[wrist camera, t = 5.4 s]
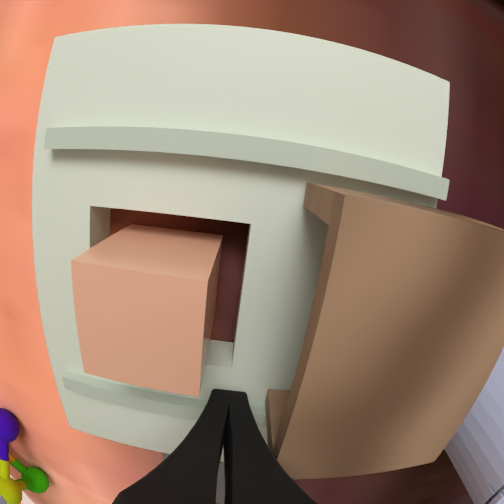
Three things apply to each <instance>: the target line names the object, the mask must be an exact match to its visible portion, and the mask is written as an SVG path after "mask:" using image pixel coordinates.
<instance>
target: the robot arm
mask: <svg viewBox="0 0 504 504" xmlns="http://www.w3.org/2000/svg"><path fill="white" fill-rule="evenodd" d="M223 446H224V477H225V499H224V504H317V503H316V502H315V501H313V500H312V499H311V498H310V497H309V496H308V495H307V494H306V493H305V492H304V491H302V490H301V489H300V488H299V486H298V485H297V484H296V483H295V482H294V481H293V480H292V479H291V478H290V477H289V475H288V474H287V473H286V472H285V471H284V469H283V468H282V467H281V465H280V464H279V463H278V461H277V460H276V458H275V457H274V455H273V454H272V452H271V451H270V449H269V447H268V446H267V444H266V442H265V440H264V438H263V436H262V434H261V432H260V430H259V428H258V426H257V424H256V421H255V419H254V416H253V414H252V411H251V408H250V405H249V401H248V397H247V394H246V393H245V392H241V391H232V390H223V389H213V390H212V391H211V395H210V397H209V400H208V402H207V404H206V406H205V408H204V410H203V412H202V413H201V415H200V417H199V418H198V420H197V422H196V423H195V425H194V426H193V427H192V429H191V430H190V432H189V433H188V434H187V436H186V437H185V438H184V439H183V441H182V442H181V443H180V444H179V445H178V447H177V448H176V449H175V450H174V451H173V452H172V453H171V454H170V455H169V456H168V457H167V458H166V459H165V460H164V461H163V462H162V463H161V464H159V465H158V466H157V467H156V468H155V469H153V470H152V471H151V472H150V473H148V474H147V475H146V476H144V477H143V478H142V479H140V480H139V481H137V482H136V483H134V484H132V485H131V486H129V487H128V488H126V489H124V490H123V491H121V492H120V493H119V494H118V496H117V497H116V498H115V500H114V502H113V503H112V504H216V490H217V476H218V470H219V465H220V459H221V454H222V449H223ZM444 449H445V451H446V453H447V455H448V456H449V458H450V460H451V462H452V464H453V465H454V467H455V469H456V471H457V473H458V474H459V476H460V478H461V480H462V482H463V484H464V486H465V487H466V489H467V491H468V493H469V495H470V497H471V499H472V501H473V503H474V504H504V348H503V350H502V352H501V354H500V356H499V358H498V360H497V362H496V364H495V366H494V368H493V370H492V372H491V374H490V376H489V378H488V380H487V382H486V384H485V385H484V387H483V389H482V391H481V393H480V394H479V396H478V398H477V400H476V401H475V403H474V405H473V406H472V408H471V410H470V411H469V413H468V414H467V416H466V417H465V419H464V421H463V422H462V424H461V425H460V427H459V428H458V430H457V431H456V433H455V434H454V436H453V437H452V438H451V440H450V441H449V443H448V444H447V445H446V447H445V448H444ZM0 504H8V503H7V502H6V500H5V499H4V498H3V497H2V496H1V495H0Z"/></svg>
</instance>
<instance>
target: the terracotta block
mask: <svg viewBox="0 0 504 504" xmlns="http://www.w3.org/2000/svg"><path fill="white" fill-rule="evenodd" d="M222 242H223V235H218V234H210V233H202V232H194V231H186V230H177V229H169V228H161V227H153V226H144V225H136V224H131V225H129V226H127V227H125V228H124V229H122V230H120V231H118V232H117V233H115V234H113V235H112V236H110V237H108V238H106V239H105V240H103V241H101V242H100V243H98V244H96V245H95V246H93V247H91V248H90V249H88V250H87V251H85V252H83V253H82V254H80V255H78V256H77V257H75V258H74V259H72V260H71V272H72V286H73V298H74V308H75V316H76V324H77V332H78V339H79V345H80V351H81V357H82V363H83V368H84V373H87V374H91V375H95V376H98V377H102V378H106V379H110V380H114V381H118V382H122V383H127V384H131V385H136V386H140V387H145V388H150V389H155V390H160V391H166V392H171V393H177V394H183V395H190V396H196V397H199V395H200V390H201V385H202V380H203V374H204V369H205V364H206V359H207V354H208V349H209V344H210V339H211V334H212V329H213V324H214V317H215V307H216V297H217V287H218V278H219V268H220V259H221V250H222Z"/></svg>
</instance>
